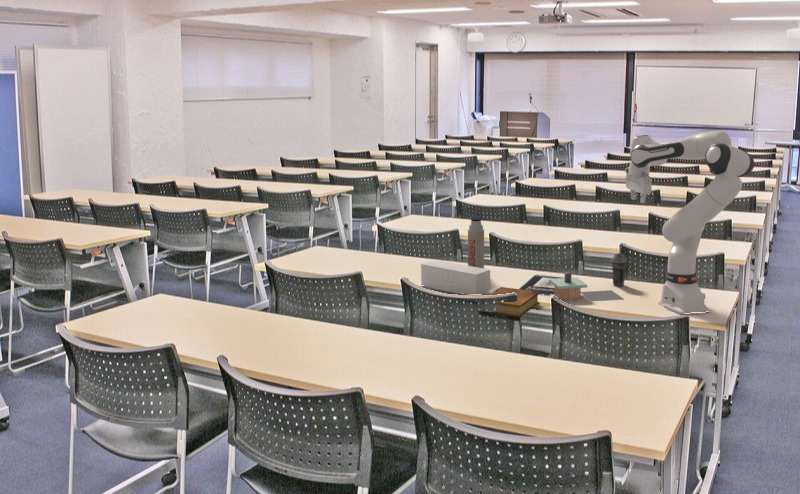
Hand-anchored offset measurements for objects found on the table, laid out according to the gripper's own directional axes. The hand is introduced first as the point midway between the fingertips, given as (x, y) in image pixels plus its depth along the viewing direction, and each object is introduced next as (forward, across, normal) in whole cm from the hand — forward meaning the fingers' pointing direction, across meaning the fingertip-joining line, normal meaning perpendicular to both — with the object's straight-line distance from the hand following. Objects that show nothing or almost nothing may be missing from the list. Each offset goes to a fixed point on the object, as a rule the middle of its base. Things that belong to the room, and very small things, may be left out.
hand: (637, 201), depth 374 cm
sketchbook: (+40, +4, +40) cm, 57 cm away
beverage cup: (+39, -3, +9) cm, 40 cm away
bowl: (+39, -16, +38) cm, 57 cm away
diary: (+40, -25, +67) cm, 82 cm away
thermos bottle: (+39, +33, +68) cm, 85 cm away
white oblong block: (+40, +8, +84) cm, 93 cm away
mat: (+39, -18, +23) cm, 49 cm away
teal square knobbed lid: (+33, -16, +38) cm, 53 cm away
